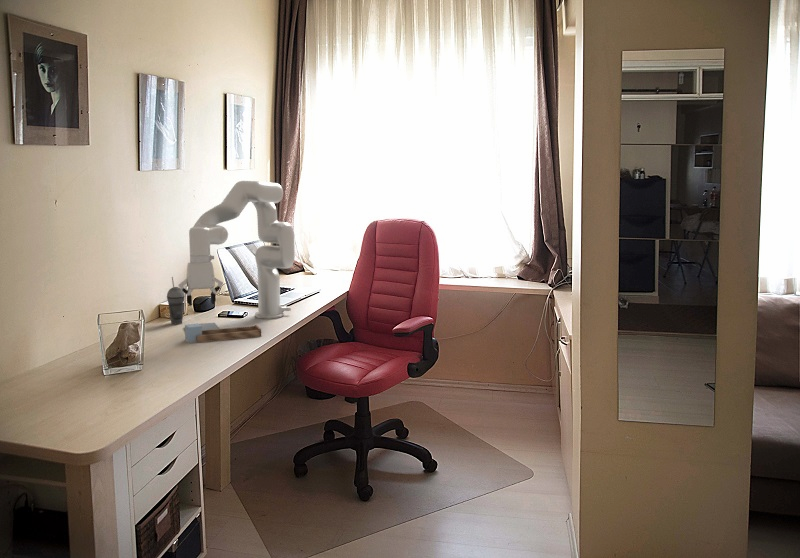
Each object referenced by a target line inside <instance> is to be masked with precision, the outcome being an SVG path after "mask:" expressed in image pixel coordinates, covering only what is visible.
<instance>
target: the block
mask: <svg viewBox="0 0 800 558" xmlns="http://www.w3.org/2000/svg"><path fill="white" fill-rule="evenodd" d="M199 324H200V323H198V322H196V323H191V324H189V323H188V324H184V333H185V334H184V335H185V341H186V342H188V343H191V344H192V343H198V342H197V337H196V336H197V335H202V326H201V325H199Z"/></svg>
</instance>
